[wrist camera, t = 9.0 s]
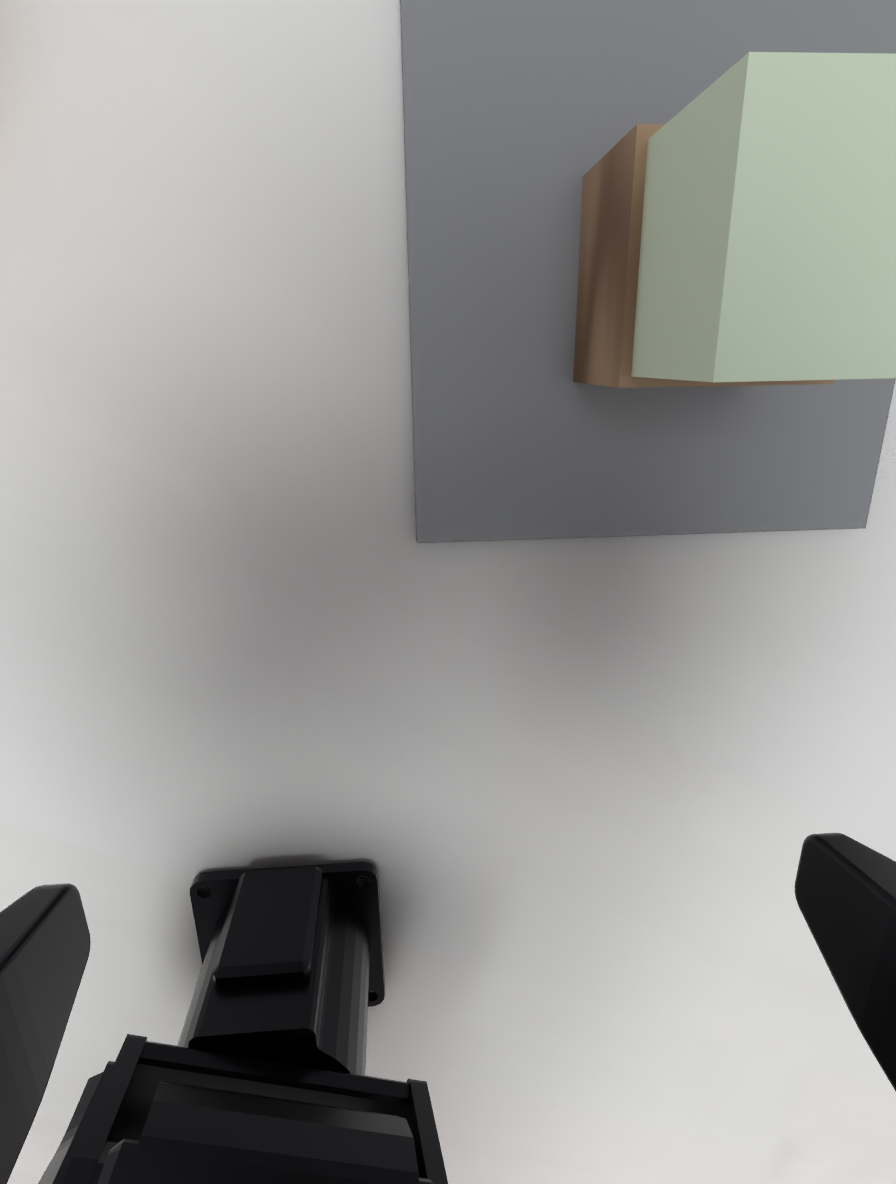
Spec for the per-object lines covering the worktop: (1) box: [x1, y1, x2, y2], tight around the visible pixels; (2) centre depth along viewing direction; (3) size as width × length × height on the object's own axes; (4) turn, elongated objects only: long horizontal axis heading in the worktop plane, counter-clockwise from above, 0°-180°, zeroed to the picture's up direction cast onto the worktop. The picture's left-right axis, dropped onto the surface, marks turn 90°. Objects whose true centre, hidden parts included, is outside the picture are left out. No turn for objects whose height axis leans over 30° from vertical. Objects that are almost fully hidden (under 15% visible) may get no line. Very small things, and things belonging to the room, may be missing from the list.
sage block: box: [631, 52, 896, 382], centre depth 12 cm, size 4×4×4 cm
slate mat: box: [400, 0, 896, 543], centre depth 18 cm, size 14×14×1 cm
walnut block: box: [573, 124, 834, 388], centre depth 16 cm, size 5×5×4 cm
